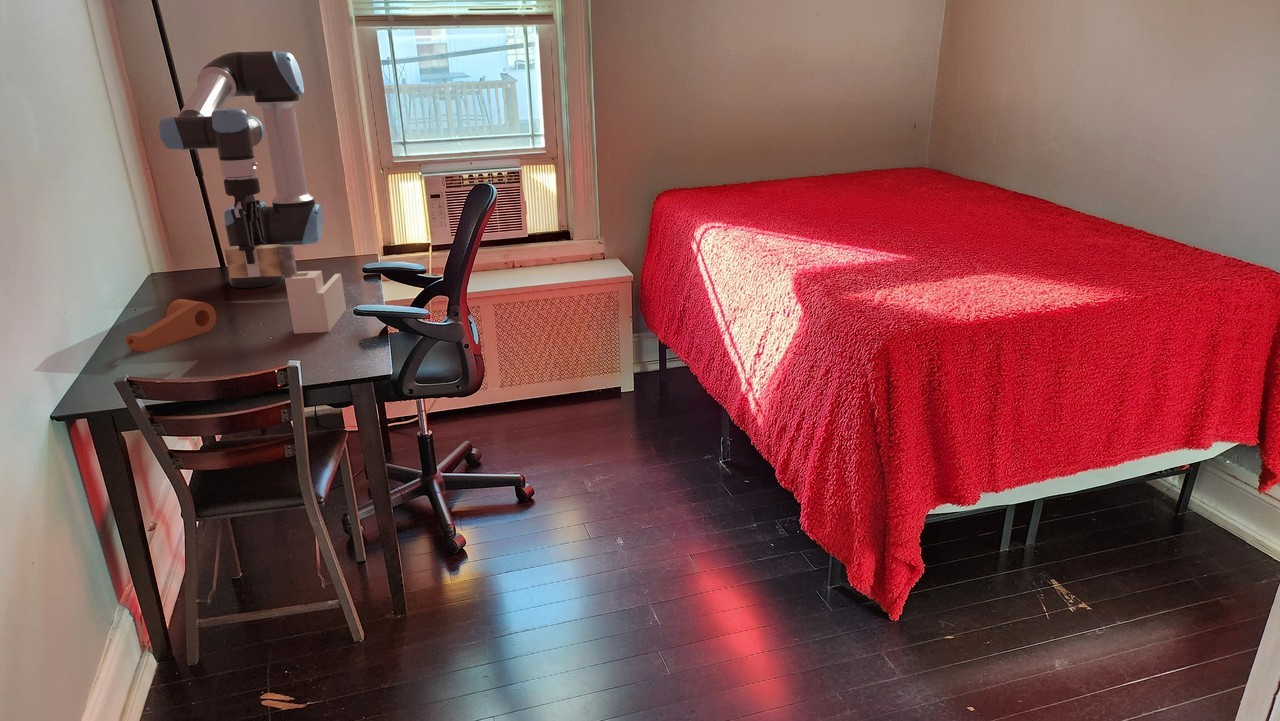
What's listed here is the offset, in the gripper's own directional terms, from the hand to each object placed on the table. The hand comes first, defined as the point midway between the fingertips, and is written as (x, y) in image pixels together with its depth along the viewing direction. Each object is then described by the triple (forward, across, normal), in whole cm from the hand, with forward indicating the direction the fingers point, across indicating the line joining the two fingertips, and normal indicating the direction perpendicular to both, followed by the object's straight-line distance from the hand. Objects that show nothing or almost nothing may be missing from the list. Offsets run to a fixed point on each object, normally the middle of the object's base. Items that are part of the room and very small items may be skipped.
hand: (257, 273), depth 205 cm
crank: (+15, -2, +22) cm, 27 cm away
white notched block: (+15, 0, -11) cm, 18 cm away
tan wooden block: (0, 0, 0) cm, 0 cm away
